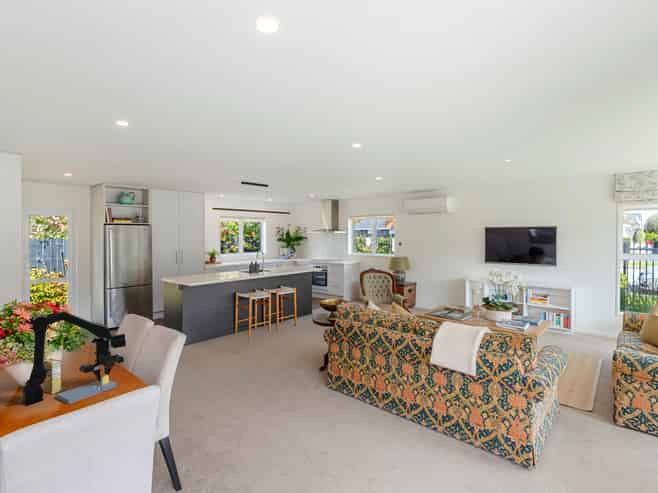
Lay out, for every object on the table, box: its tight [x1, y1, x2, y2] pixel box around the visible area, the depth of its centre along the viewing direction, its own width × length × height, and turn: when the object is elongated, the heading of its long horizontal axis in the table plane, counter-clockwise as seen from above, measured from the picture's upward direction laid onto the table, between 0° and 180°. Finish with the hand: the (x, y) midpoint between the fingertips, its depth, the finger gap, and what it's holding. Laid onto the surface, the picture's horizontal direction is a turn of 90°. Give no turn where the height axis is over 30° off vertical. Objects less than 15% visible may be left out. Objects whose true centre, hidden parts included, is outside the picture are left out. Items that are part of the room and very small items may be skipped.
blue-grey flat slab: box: [55, 383, 103, 405], centre depth 168 cm, size 14×12×2 cm
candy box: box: [41, 358, 62, 395], centre depth 173 cm, size 9×4×15 cm, turn 66°
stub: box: [88, 372, 118, 393], centre depth 177 cm, size 7×12×6 cm, turn 60°
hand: (102, 380), depth 177 cm, fingers closed on stub, 3 cm apart
